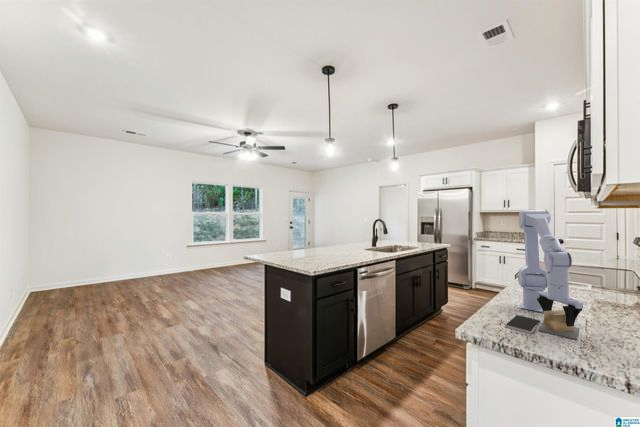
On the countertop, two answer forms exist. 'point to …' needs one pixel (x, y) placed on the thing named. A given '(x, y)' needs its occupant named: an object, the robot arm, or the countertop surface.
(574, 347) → the countertop surface
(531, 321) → the smartphone
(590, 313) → the countertop surface
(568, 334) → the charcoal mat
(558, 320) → the oak slab
